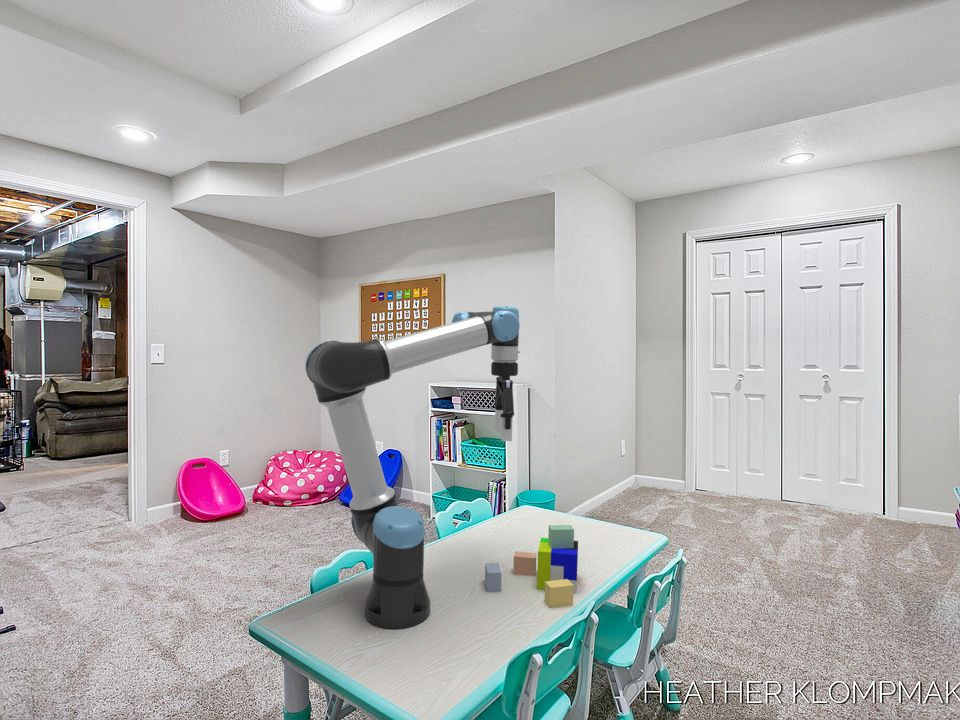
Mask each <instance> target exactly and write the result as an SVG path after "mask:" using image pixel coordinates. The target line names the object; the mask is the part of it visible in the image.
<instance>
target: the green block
mask: <svg viewBox="0 0 960 720" xmlns="http://www.w3.org/2000/svg"><path fill="white" fill-rule="evenodd" d="M547 538H548V544H549V546H550V548H551V549H557V548H574V541H575V529H574V527H573V526H572V524H552V525H548V536H547Z"/></svg>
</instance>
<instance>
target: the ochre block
mask: <svg viewBox="0 0 960 720" xmlns="http://www.w3.org/2000/svg"><path fill="white" fill-rule="evenodd" d="M543 601H544V602H545V604H546V605H547V606H548V607H549V608H560V607H561V608H562V607H567V606H573V605H574V593H573V584H572V583H571V582H570V581H569V580H568V579H563V580H554V581H545V590H544V600H543Z"/></svg>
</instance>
